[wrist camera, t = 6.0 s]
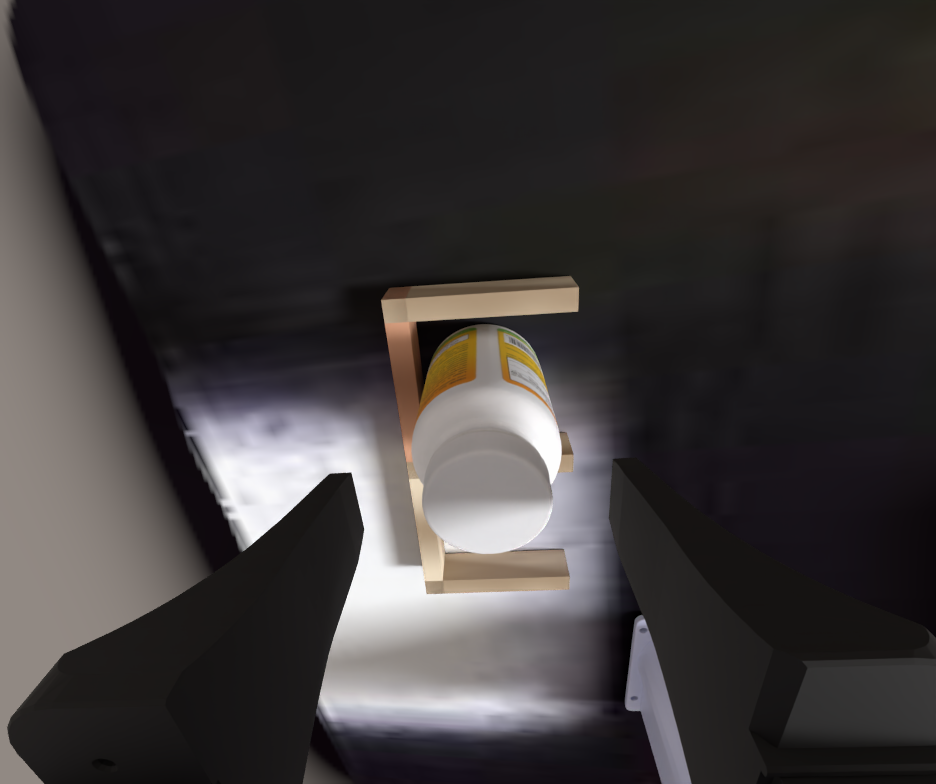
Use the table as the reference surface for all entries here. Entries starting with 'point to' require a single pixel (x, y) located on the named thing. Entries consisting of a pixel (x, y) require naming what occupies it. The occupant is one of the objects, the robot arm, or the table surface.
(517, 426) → the supplement bottle
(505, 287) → the e-shaped wooden frame
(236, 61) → the table surface
